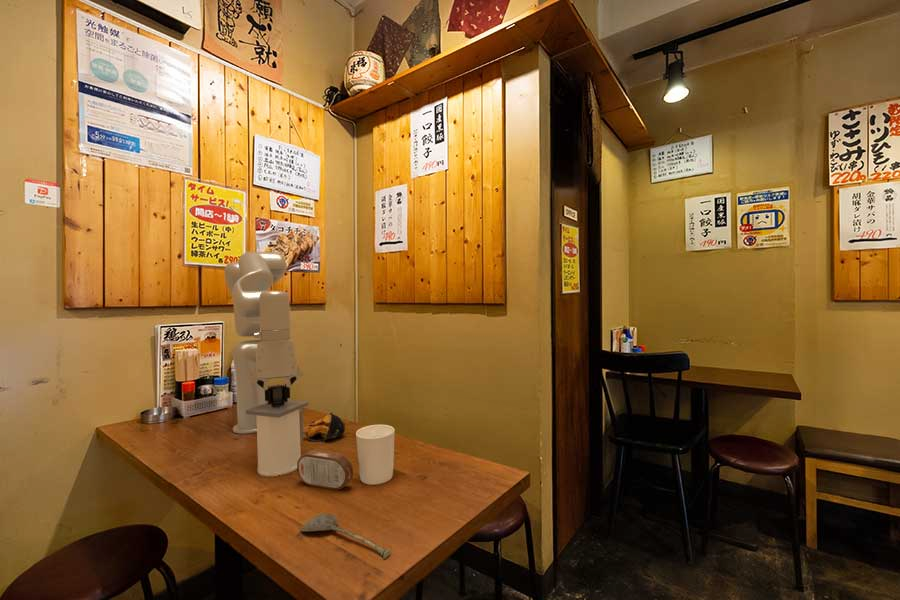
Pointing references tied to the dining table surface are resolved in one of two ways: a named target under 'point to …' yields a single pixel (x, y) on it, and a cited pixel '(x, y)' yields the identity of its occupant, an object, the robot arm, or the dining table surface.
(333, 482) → the tin
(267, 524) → the dining table surface
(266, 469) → the white grey-topped cylinder
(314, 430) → the fried shrimp in bowl
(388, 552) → the soupspoon
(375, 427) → the white tapered cylinder
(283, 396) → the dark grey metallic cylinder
